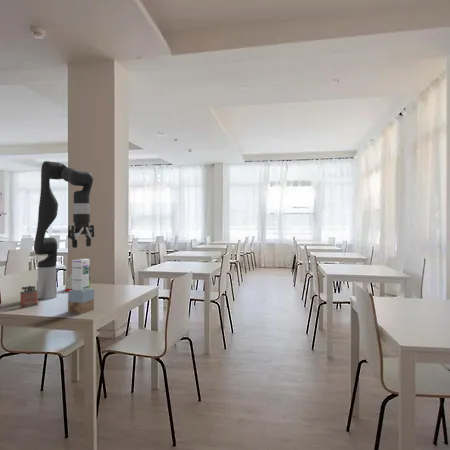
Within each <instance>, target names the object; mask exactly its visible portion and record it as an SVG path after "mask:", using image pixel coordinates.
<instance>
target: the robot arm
mask: <svg viewBox="0 0 450 450" xmlns="http://www.w3.org/2000/svg"><path fill="white" fill-rule="evenodd" d="M40 172H41V173H40V194H39V195H40V196H39V202H38V203H39V204H38V211H37V212H38V215H37V225H36V232H35V237H34V243H33V246H34V247H33V249H34V250H33V251H34V252H35V254H36V255H38V256H41V255H47V256H46V257H45V258H44V259H41V260H39V261H38V262H37V280H36V290H38V300H50V299H55V298H57V296H58V295H57V294H58V293H57V261H58V240H57V238H55V237H45V235H46V233H47V230H48V229H49V227H50V226H51V225H52V224H53V222H54V221H55V220H56V218H57V217H58V216H57V215H58V208H59V203H58V200H57V198H56V196H55V195H54V193H53V191H52V188H51V183H50V181H51V180H63V181H65V182H67V183H69V184H70V185H72V186H75V187H76V186H77V187H82V188H81V190H75V191H74V192H73V206H72V222H73V225H68V230H67V232H68V234H67V239H69V240H71V247H72V248H75V249H77V248H78V238H79V237H80V235H83V236H84V237H85V246H86V247H91V245H92V243H91V242H92V238H95V226H94V224H89V223H91V209H90V208H91V207H90V195H91V190H92V186H93V182H94V177H93V174H92V173H91V172H89V171H82V170H77V169H75V168H71V167H68V166H67V165H66V164H64V163H62V162H58V161H51V160H50V161H49V160H45V161H43V162H42V165H41V169H40Z"/></svg>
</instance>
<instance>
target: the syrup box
mask: <svg viewBox="0 0 450 450" xmlns="http://www.w3.org/2000/svg"><path fill="white" fill-rule="evenodd" d="M90 261H91V259H90V258H77V259H72V260H71V270H72V271H71V273H72V290H75V291H84V290H87V289H91V264H90V263H91V262H90Z"/></svg>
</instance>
